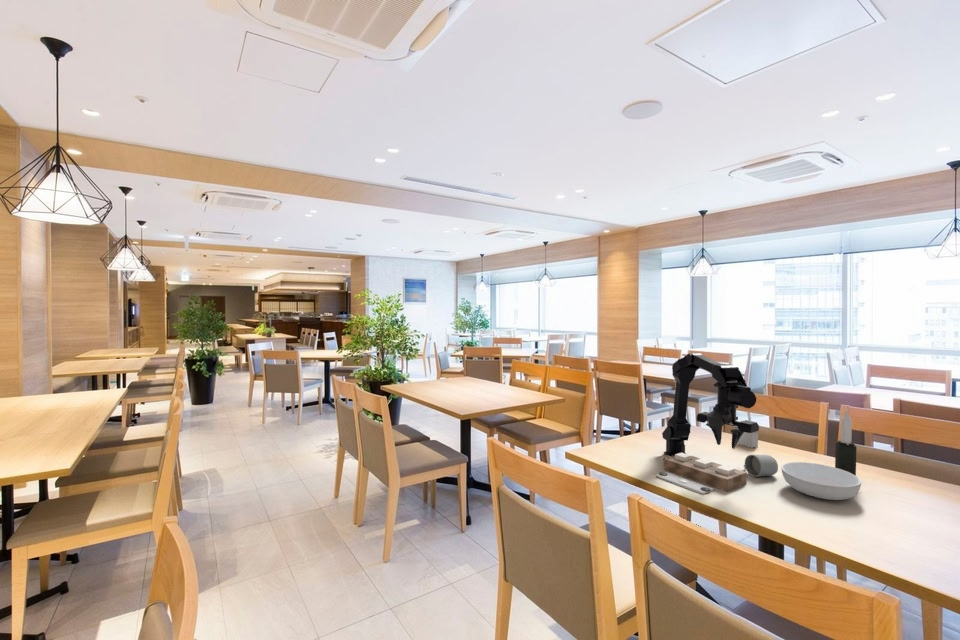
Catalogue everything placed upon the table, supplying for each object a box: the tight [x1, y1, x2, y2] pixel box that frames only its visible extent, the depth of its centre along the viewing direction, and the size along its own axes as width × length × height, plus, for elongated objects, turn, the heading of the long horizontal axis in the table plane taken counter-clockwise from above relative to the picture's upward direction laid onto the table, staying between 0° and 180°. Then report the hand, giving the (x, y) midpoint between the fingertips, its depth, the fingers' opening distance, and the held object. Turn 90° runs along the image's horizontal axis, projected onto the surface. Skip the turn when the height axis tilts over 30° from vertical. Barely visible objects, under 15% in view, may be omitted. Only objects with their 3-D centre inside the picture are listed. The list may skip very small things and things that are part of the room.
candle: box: [834, 409, 857, 476], centre depth 157 cm, size 5×5×25 cm
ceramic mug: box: [743, 454, 779, 478], centre depth 164 cm, size 11×8×8 cm
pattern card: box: [655, 471, 714, 495], centre depth 155 cm, size 19×6×1 cm, turn 32°
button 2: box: [717, 464, 736, 476], centre depth 154 cm, size 4×4×3 cm
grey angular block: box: [737, 431, 759, 449], centre depth 197 cm, size 4×7×10 cm, turn 24°
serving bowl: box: [781, 461, 862, 501], centre depth 146 cm, size 21×21×7 cm
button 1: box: [675, 452, 692, 462], centre depth 168 cm, size 4×4×3 cm
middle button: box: [695, 458, 713, 469], centre depth 161 cm, size 4×4×3 cm
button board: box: [663, 455, 748, 492], centre depth 161 cm, size 24×12×4 cm, turn 32°
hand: (726, 446), depth 154 cm, fingers open, 5 cm apart
